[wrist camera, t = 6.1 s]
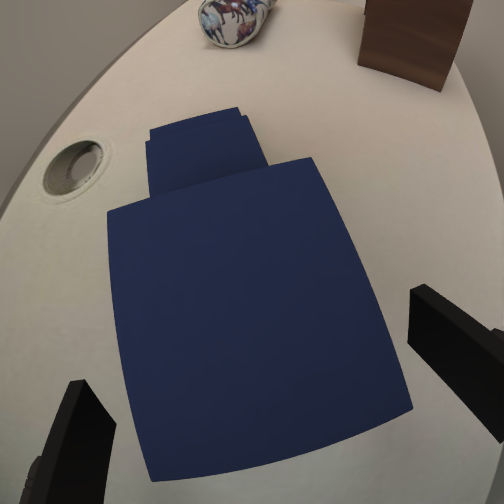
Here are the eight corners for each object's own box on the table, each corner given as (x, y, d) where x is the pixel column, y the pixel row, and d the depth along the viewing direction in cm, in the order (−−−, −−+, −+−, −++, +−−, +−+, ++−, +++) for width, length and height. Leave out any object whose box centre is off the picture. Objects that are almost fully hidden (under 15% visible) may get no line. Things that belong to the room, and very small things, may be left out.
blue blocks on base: (334, 398, 18) (419, 406, 7) (214, 431, 17) (144, 482, 6) (245, 144, 27) (234, 25, 16) (160, 167, 26) (115, 56, 16)
